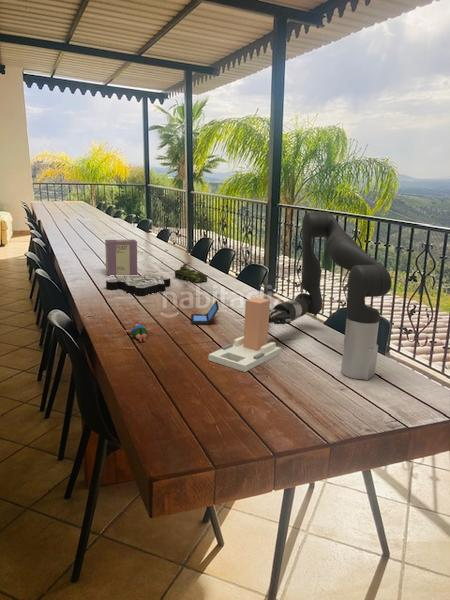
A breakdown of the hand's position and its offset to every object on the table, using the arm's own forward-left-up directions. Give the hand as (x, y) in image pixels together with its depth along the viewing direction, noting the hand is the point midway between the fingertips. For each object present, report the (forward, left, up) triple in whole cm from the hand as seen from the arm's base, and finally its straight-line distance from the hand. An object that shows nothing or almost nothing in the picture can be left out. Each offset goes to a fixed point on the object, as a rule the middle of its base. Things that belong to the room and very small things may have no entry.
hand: (261, 321), depth 154 cm
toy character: (+40, +18, -11) cm, 45 cm away
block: (0, +3, -8) cm, 9 cm away
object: (+35, -13, -11) cm, 39 cm away
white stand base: (0, +9, -10) cm, 13 cm away
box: (+130, -51, -10) cm, 140 cm away
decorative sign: (+96, -36, -11) cm, 103 cm away
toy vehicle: (+92, -70, -11) cm, 116 cm away
